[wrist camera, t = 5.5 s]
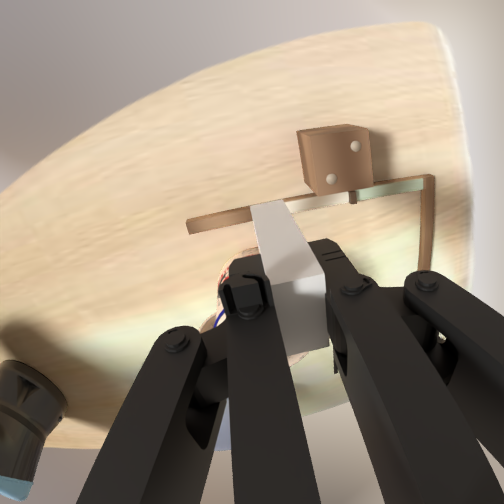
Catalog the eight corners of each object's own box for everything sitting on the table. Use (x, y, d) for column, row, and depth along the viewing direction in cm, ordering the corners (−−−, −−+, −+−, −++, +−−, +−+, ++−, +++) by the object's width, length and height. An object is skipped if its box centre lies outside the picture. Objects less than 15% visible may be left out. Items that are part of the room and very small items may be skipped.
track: (230, 352, 38) (230, 362, 37) (187, 219, 30) (184, 226, 28) (420, 305, 37) (426, 313, 36) (429, 173, 29) (438, 178, 28)
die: (304, 181, 29) (318, 197, 25) (296, 130, 27) (309, 136, 22) (353, 173, 29) (374, 187, 24) (347, 123, 27) (369, 128, 22)
